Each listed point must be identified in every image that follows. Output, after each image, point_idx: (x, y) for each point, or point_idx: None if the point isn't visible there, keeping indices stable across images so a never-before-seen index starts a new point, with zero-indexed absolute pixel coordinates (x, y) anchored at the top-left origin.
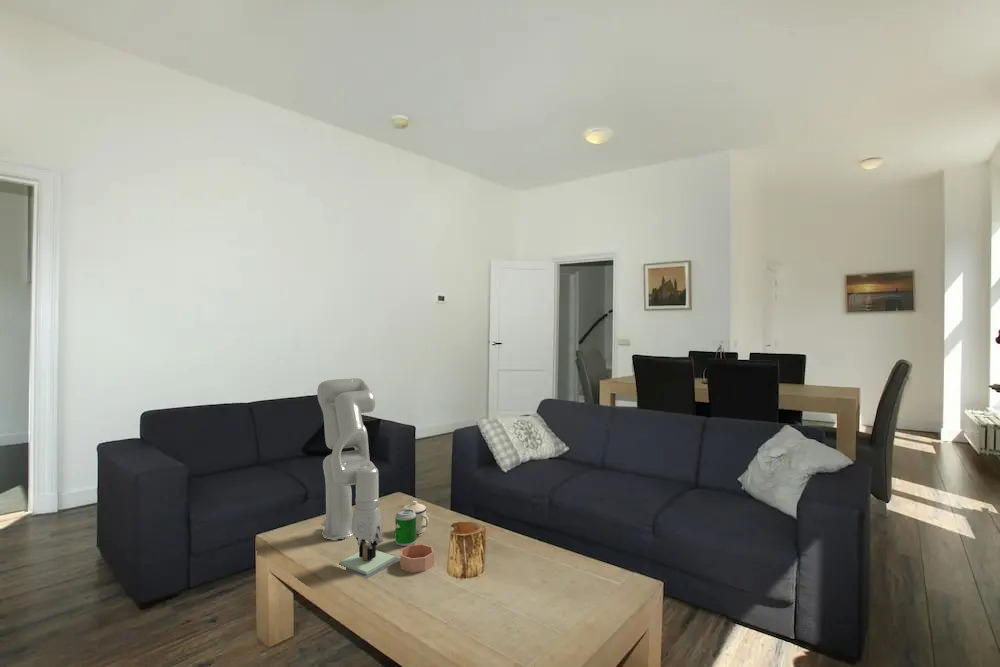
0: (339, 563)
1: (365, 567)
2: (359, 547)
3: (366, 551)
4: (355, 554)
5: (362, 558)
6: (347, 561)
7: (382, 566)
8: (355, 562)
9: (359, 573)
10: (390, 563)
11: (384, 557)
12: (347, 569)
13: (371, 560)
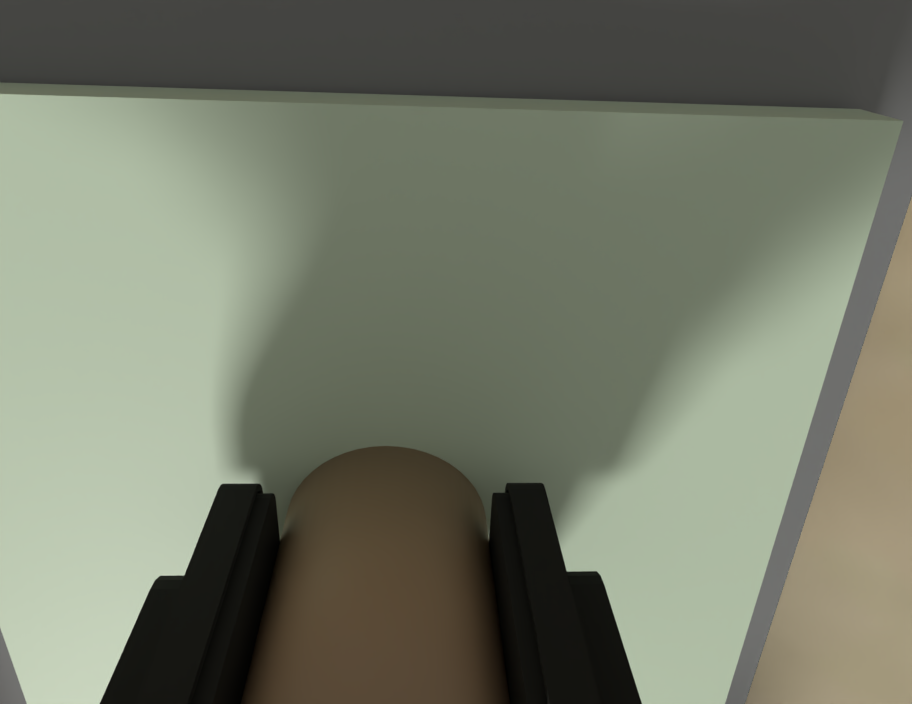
0: (873, 114)
1: (86, 253)
2: (580, 676)
3: (293, 641)
4: (751, 537)
5: None
6: (712, 244)
7: None
8: (499, 305)
9: (99, 44)
10: None
11: None
12: (523, 43)
13: None
